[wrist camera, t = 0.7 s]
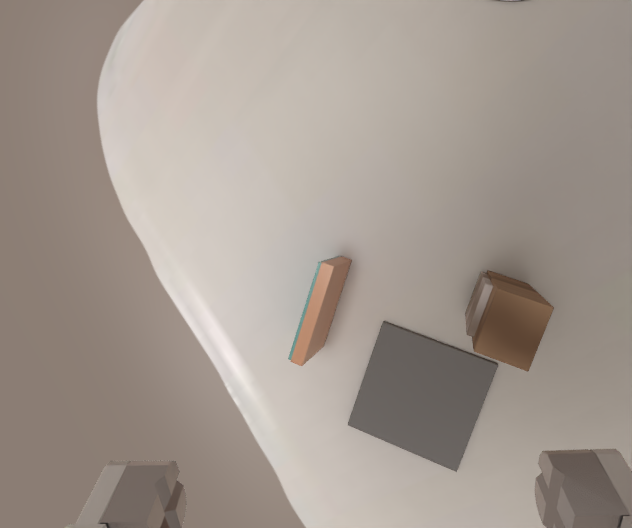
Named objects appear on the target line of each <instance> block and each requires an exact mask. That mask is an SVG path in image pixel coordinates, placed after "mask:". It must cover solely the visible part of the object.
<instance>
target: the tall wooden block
mask: <svg viewBox="0 0 632 528" xmlns="http://www.w3.org/2000/svg"><path fill="white" fill-rule="evenodd" d="M553 309H554V307H553V306H552V305H551V304H549V303H548V302H547V301H546V300H545V299H544V298H543V297H542V296H541V295H540V294H539V293H538V292H537V291H536V290H534V289H533V288H532V287H531V286H530V285H529V284H527V283H524V282H521V281H518V280H515V279H512V278H509V277H506V276H503V275H500V274H497V273H494V272H491V271H487V274H486V273H483V272H481V273H480V275H479V278H478V281H477V283H476V286H475V289H474V291H473V294H472V297H471V300H470V302H469V305H468V308H467V310H466V313H465V314H466V332H467V335H469V336H472V339H473V349H474V352H477V353H480V354H482V355H485V356H488V357H490V358H493V359H496V360H498V361H501V362H504V363H507V364H509V365H512V366H515V367H517V368H520V369H523V370H525V371H529V368H530V366H531V363H532V361H533V358H534V356H535V353H536V351H537V348H538V346H539V343H540V341H541V339H542V336H543V334H544V331H545V329H546V326H547V324H548V321H549V319H550V316H551V314H552V311H553Z"/></svg>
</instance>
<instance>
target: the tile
mask: <svg viewBox="0 0 632 528" xmlns="http://www.w3.org/2000/svg"><path fill="white" fill-rule="evenodd" d="M351 261H352V260H351V259H348V258H345V257H342V256H341V257H339V256H338V257H334V258H331V259H327V260H324V261H321V262H319V263H318V266H317V269H316V273H315V276H314V279H313V282H312V285H311V288H310V292H309V295H308V298H307V301H306V304H305V308H304V311H303V314H302V317H301V320H300V323H299V327H298V330H297V333H296V336H295V339H294V342H293V346H292V349H291V352H290V355H289V358H288V359H289V360H291V362H293V363H295V364H298V365H300V366H303V365H304V364H305V363H306V362H307V361H308V360H309V359H310V358H311V357H313V356H314V355H315V354H316V353H317V352H318V351H319V350H320V349H321V348H322V347H323V346H324V344H325V341H326V338H327V335H328V332H329V329H330V326H331V322H332V319H333V316H334V313H335V310H336V307H337V304H338V301H339V298H340V295H341V292H342V289H343V286H344V283H345V280H346V276H347V273H348V270H349V267H350V264H351Z"/></svg>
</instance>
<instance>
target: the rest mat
mask: <svg viewBox="0 0 632 528" xmlns="http://www.w3.org/2000/svg"><path fill="white" fill-rule="evenodd" d="M497 367H498V364H497V363H494V362H492V361H489V360H486V359H484V358H481V357H478V356H476V355H473V354H470V353H468V352H465V351H462V350H460V349H457V348H454V347H452V346H449V345H446V344H444V343H441V342H438V341H436V340H433V339H430V338H428V337H425V336H422V335H419V334H417V333H414V332H411V331H409V330H406V329H403V328H401V327H398V326H395V325H393V324H390V323H387V322H385V321H383V323H382V326H381V329H380V332H379V335H378V338H377V341H376V344H375V347H374V350H373V352H372V355H371V358H370V361H369V364H368V367H367V370H366V373H365V376H364V379H363V382H362V384H361V387H360V390H359V393H358V396H357V399H356V402H355V405H354V408H353V411H352V413H351V416H350V419H349V422H348V425H349V426H351V427H354V428H356V429H358V430H361V431H363V432H365V433H368V434H370V435H372V436H375V437H377V438H379V439H382V440H384V441H386V442H389V443H391V444H393V445H396V446H398V447H400V448H402V449H405V450H407V451H409V452H412V453H414V454H416V455H419V456H421V457H423V458H426V459H428V460H430V461H433V462H435V463H437V464H440V465H442V466H444V467H447V468H449V469H451V470H454V471H456V472H457V469H458V467H459V464H460V462H461V459H462V457H463V454H464V451H465V449H466V446H467V444H468V441H469V439H470V436H471V433H472V431H473V428H474V426H475V423H476V421H477V418H478V415H479V413H480V410H481V408H482V405H483V403H484V400H485V398H486V395H487V392H488V390H489V387H490V385H491V382H492V380H493V377H494V374H495V372H496V369H497Z"/></svg>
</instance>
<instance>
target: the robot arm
mask: <svg viewBox="0 0 632 528" xmlns="http://www.w3.org/2000/svg"><path fill="white" fill-rule="evenodd" d="M502 1H519V0H502ZM538 464H539V467H540V469H541V471H542V473H541V474H540V475H539V476H538V477H537V478H536V483H535V497H536V504H537V508H538V512H539V515H540V518H541V521H542V523H543V525H544V526H546V527H547V528H632V471H631V469H630V468H629V466H628V465H627V463H626V461H625V460H624V458H623V457H622V455H621V453H620V452H619V451H617V450H616V449H593V450H588V449H585V450H557V451H542V452H541V454H540V456H539V462H538ZM178 475H179V469H178V466H177V463H176V461H110V462H109V463H108V464H107V465H106V466H105V467H104V469H103V471H102V473H101V475H100V477H99V479H98V481H97V483H96V485H95V486H94V488H93V490H92V493H91V494H90V496H89V498H88V500H87V502H86V504H85V506H84V508H83V510H82V512H81V514H80V516H79V517H78V519H77V521H76V523H75V524H69V525H67V526H66V527H65V528H182V525H183V522H184V518H185V512H186V493H185V489H184V486H183V485H182V484H181V483H180V482H179V481H177V478H178Z"/></svg>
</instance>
